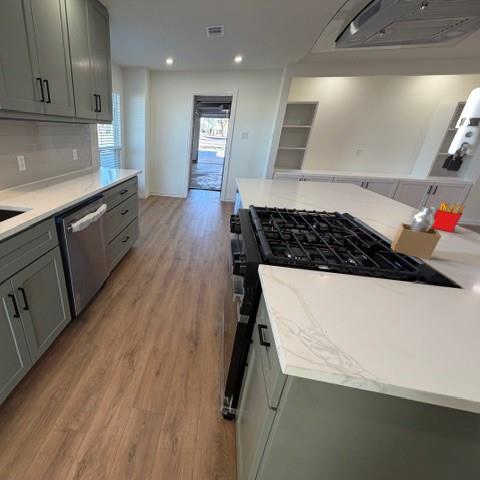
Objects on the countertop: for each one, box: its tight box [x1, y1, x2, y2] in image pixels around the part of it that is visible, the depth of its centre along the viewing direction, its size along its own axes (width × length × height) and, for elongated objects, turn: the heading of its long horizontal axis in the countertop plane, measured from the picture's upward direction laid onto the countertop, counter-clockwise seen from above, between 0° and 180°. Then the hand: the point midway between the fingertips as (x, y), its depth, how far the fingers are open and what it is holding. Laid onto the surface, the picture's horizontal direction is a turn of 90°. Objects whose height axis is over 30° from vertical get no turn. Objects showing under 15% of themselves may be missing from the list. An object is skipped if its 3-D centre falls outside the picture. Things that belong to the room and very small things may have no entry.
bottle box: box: [390, 222, 442, 260], centre depth 106 cm, size 11×10×12 cm
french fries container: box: [431, 202, 466, 233], centre depth 138 cm, size 7×9×14 cm
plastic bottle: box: [410, 206, 437, 233], centre depth 104 cm, size 6×7×20 cm
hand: (449, 169), depth 104 cm, fingers open, 9 cm apart
